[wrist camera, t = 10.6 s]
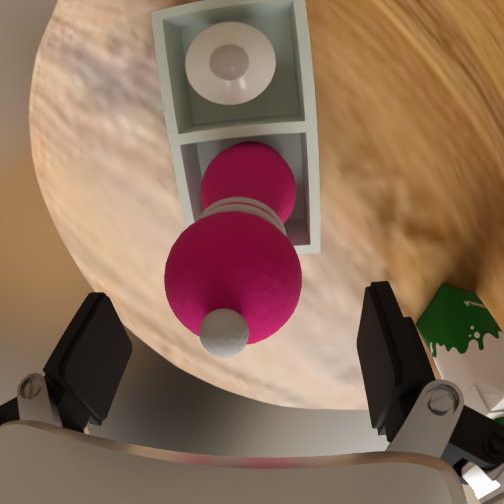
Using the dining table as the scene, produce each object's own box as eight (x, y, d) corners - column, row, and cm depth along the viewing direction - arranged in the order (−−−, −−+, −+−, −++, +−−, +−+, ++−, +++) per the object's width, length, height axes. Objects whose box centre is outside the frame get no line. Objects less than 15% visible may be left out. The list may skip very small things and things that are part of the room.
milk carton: (406, 328, 38) (453, 460, 20) (441, 275, 33) (517, 408, 16) (449, 335, 38) (498, 448, 21) (483, 287, 34) (552, 400, 17)
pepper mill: (308, 168, 27) (373, 336, 10) (259, 225, 30) (246, 421, 13) (242, 119, 25) (179, 210, 8) (195, 182, 28) (97, 350, 11)
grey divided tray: (174, 24, 21) (150, 12, 16) (296, 9, 20) (303, -9, 15) (205, 228, 31) (193, 260, 26) (311, 221, 30) (320, 252, 25)
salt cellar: (202, 42, 21) (173, 26, 14) (269, 34, 21) (270, 12, 14) (210, 103, 24) (185, 112, 17) (276, 96, 24) (280, 101, 16)
